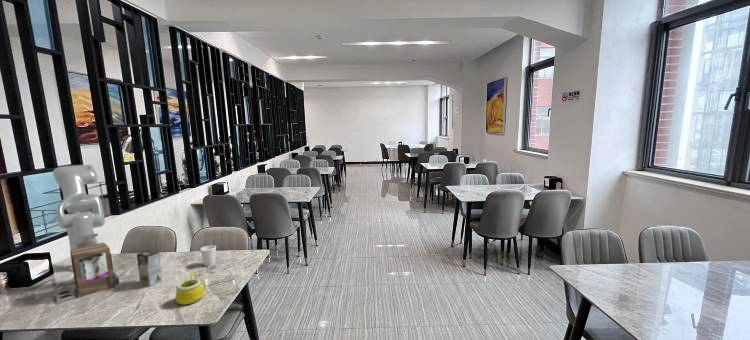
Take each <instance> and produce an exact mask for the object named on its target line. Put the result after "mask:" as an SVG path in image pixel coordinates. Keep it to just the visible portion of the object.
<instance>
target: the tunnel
mask: <svg viewBox="0 0 750 340" xmlns="http://www.w3.org/2000/svg"><path fill="white" fill-rule="evenodd" d="M98 253H105V254H106V262H107V269H108V276H107V277H103V278H99V279H96V280H92V281H89V282H85V283H82V278H81V271H80V264H79V258H81V257H85V256H90V255H94V254H98ZM110 253H111V250H110V246H109V245H107V244H106V243H105V242H101V243H98V244H95V245H91V246H86V247H81V248H77V249H72V250H71V249H69V255H70V259H71V266H72V268H73V271H72V274H73V280H74V285H75V284H77V285H78V292H79V295H78V298H83V297H85V296H89V295H91V294H95V293H99V292H101V291H105V290H108V289H113V288H115V285H114V278H113V272H114V270H113V271H112V266H113V262H112V263H111V258H112V255H111V256H110Z"/></svg>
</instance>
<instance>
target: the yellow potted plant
mask: <svg viewBox="0 0 750 340" xmlns="http://www.w3.org/2000/svg"><path fill="white" fill-rule="evenodd" d="M201 272H202V271H201V269H200V270H198V274H197V273H196V271H194V270H193V271H192V272H191V273H190V278H189V279H185V280H184V281H181V282H180V283H179V284H177V285H176V290H175V301H176V303H178V304H180V305H189V304H193V303H196V302H198V301H199V300H201V299H202V298H203V296H204V293H205V291H206V289H207V287H206V283H205V282H204V281H201V280H200V279H199V277H200V276H199V275H200V273H201ZM202 284H203V286H202Z"/></svg>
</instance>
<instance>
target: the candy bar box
mask: <svg viewBox="0 0 750 340" xmlns="http://www.w3.org/2000/svg"><path fill="white" fill-rule="evenodd" d="M79 264H80V271H81V278H82V283H85V282H89V281H92V280H96V279H99V278H103V277H107V276H108V269H107V262H106V254H105V253H98V254H94V255H91V256H88V257H86V258H83V259H80V260H79Z"/></svg>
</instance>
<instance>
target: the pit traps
mask: <svg viewBox="0 0 750 340" xmlns="http://www.w3.org/2000/svg"><path fill="white" fill-rule="evenodd" d="M54 297H55V299H56V302H57V305H58V304H62V303H66V302H69V301H72V300H75V299H76V295H75V292H74V290H73V288H69V289H66V290H63V291H59V292H55V293H54Z"/></svg>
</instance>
